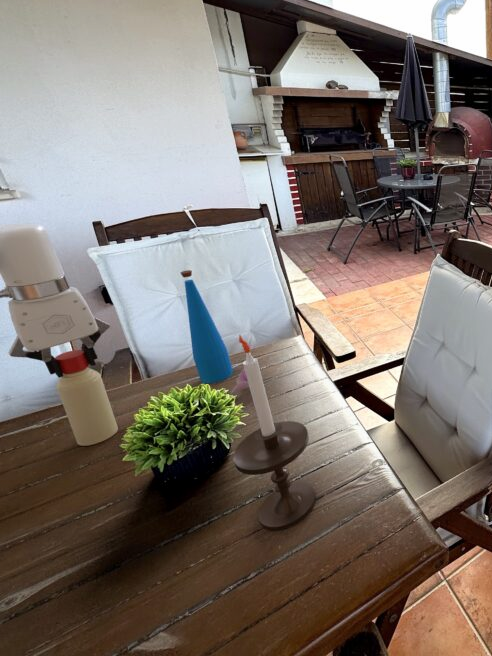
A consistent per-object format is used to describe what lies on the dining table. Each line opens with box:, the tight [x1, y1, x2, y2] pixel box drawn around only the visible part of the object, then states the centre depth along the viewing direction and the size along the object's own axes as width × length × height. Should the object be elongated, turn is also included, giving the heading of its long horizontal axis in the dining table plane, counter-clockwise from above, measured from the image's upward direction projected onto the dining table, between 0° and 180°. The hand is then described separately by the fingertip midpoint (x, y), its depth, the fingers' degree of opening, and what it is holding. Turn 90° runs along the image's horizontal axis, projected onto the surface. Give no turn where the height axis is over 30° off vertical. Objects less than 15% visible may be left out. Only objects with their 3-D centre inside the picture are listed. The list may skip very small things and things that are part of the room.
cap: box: [54, 349, 90, 374], centre depth 82 cm, size 4×4×3 cm
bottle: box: [180, 269, 234, 384], centre depth 104 cm, size 7×7×30 cm
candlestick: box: [232, 334, 317, 532], centre depth 66 cm, size 11×11×35 cm
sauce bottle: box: [56, 367, 119, 447], centre depth 85 cm, size 6×6×20 cm
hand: (75, 368), depth 83 cm, fingers closed on cap, 4 cm apart
